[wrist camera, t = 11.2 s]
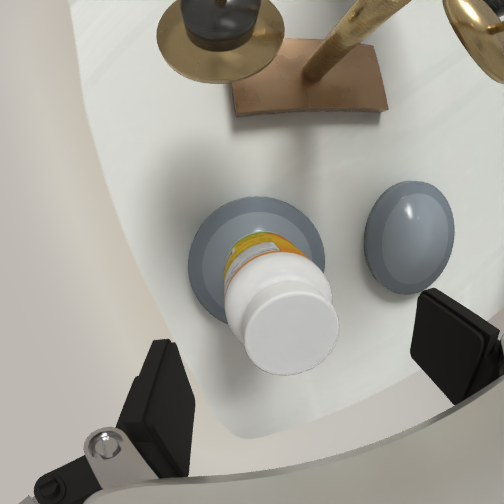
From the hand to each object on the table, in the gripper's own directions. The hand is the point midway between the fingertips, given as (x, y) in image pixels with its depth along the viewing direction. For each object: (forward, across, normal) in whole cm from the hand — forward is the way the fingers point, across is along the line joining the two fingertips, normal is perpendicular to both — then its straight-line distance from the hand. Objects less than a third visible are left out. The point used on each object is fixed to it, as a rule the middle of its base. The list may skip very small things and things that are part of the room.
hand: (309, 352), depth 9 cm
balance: (+12, -5, -14) cm, 19 cm away
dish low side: (+12, +1, 0) cm, 12 cm away
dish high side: (+13, -13, 0) cm, 18 cm away
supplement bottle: (+11, 0, 0) cm, 11 cm away
